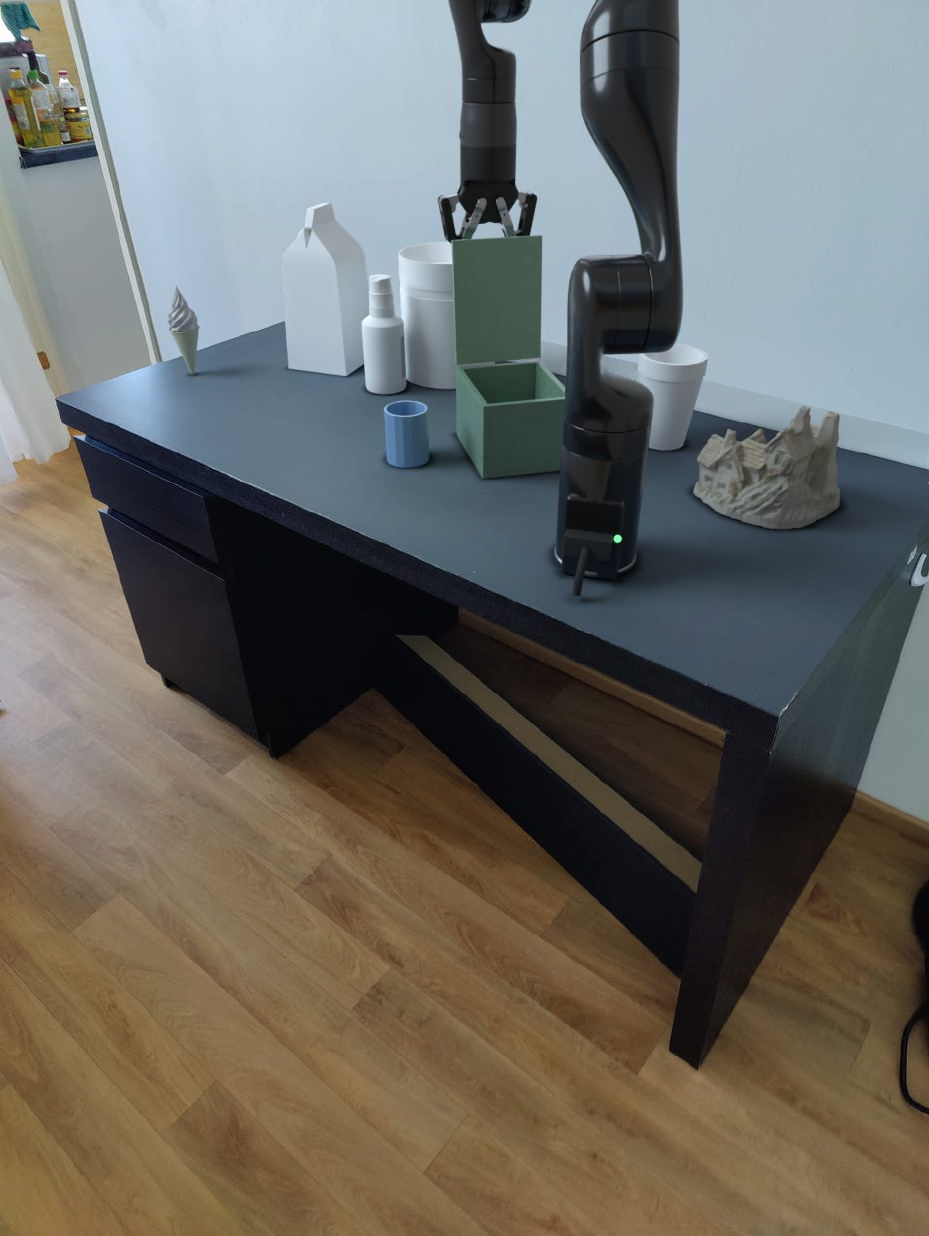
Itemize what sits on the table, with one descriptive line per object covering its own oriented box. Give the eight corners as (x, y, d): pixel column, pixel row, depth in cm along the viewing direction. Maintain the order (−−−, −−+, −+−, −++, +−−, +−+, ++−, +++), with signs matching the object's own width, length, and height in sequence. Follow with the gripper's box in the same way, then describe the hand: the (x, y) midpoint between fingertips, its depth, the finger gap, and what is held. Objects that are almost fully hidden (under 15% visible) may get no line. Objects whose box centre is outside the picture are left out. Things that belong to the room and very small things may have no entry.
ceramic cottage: (858, 505, 113) (880, 390, 105) (768, 543, 106) (783, 424, 98) (764, 468, 124) (776, 362, 116) (677, 501, 118) (684, 390, 110)
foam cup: (694, 457, 126) (708, 367, 118) (628, 452, 127) (638, 362, 120) (693, 431, 133) (707, 345, 126) (631, 426, 135) (641, 341, 128)
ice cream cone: (194, 367, 158) (178, 280, 149) (213, 373, 155) (198, 284, 147) (171, 375, 155) (154, 286, 146) (190, 381, 152) (174, 291, 144)
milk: (346, 376, 154) (333, 214, 139) (288, 368, 157) (269, 209, 143) (376, 355, 163) (366, 201, 148) (321, 348, 167) (306, 197, 152)
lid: (542, 235, 121) (531, 232, 125) (452, 240, 118) (444, 236, 123) (540, 357, 129) (530, 350, 133) (456, 364, 126) (448, 357, 131)
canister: (508, 382, 151) (511, 259, 140) (419, 394, 147) (415, 267, 135) (475, 353, 164) (476, 238, 152) (392, 364, 159) (386, 246, 148)
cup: (421, 470, 123) (419, 418, 118) (380, 465, 124) (377, 414, 120) (434, 452, 127) (433, 402, 123) (395, 448, 129) (392, 398, 124)
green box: (570, 469, 123) (575, 397, 117) (482, 479, 120) (483, 406, 114) (536, 426, 135) (539, 360, 129) (456, 434, 133) (455, 367, 127)
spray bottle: (414, 385, 150) (410, 274, 140) (390, 397, 145) (384, 284, 135) (382, 378, 153) (375, 269, 143) (357, 390, 148) (349, 278, 138)
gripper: (441, 145, 113) (443, 282, 123) (548, 142, 116) (542, 276, 126) (429, 138, 119) (432, 270, 129) (531, 135, 122) (527, 264, 132)
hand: (486, 272), depth 127 cm, fingers open, 5 cm apart
